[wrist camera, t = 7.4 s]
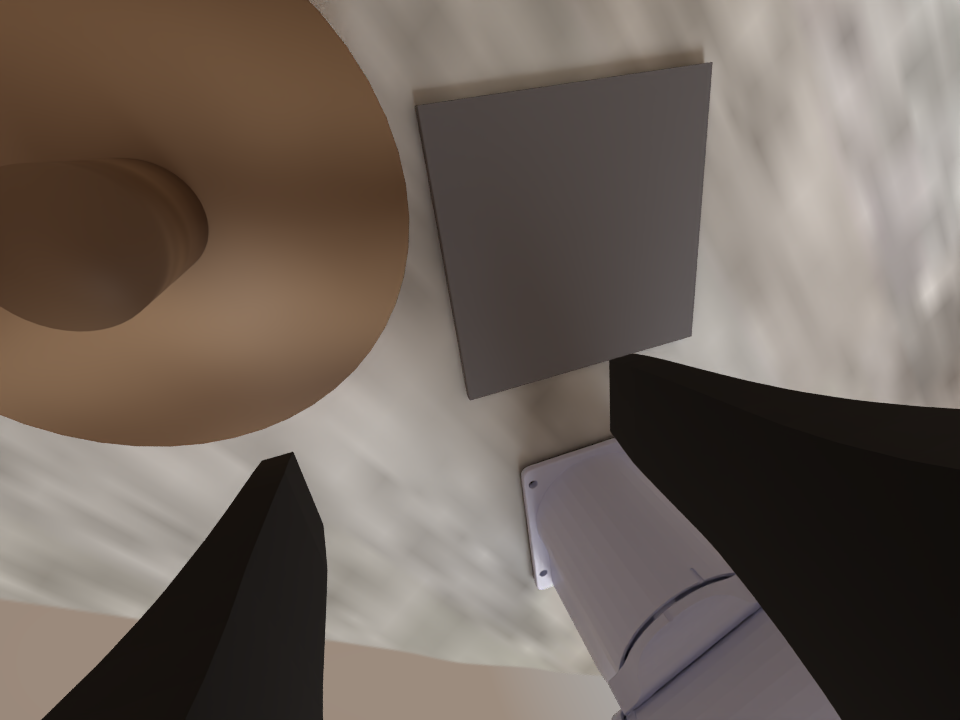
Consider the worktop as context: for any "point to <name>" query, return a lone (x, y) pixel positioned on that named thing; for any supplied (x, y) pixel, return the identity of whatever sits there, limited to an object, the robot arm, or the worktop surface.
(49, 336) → the lid
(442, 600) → the worktop surface
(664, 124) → the mat
